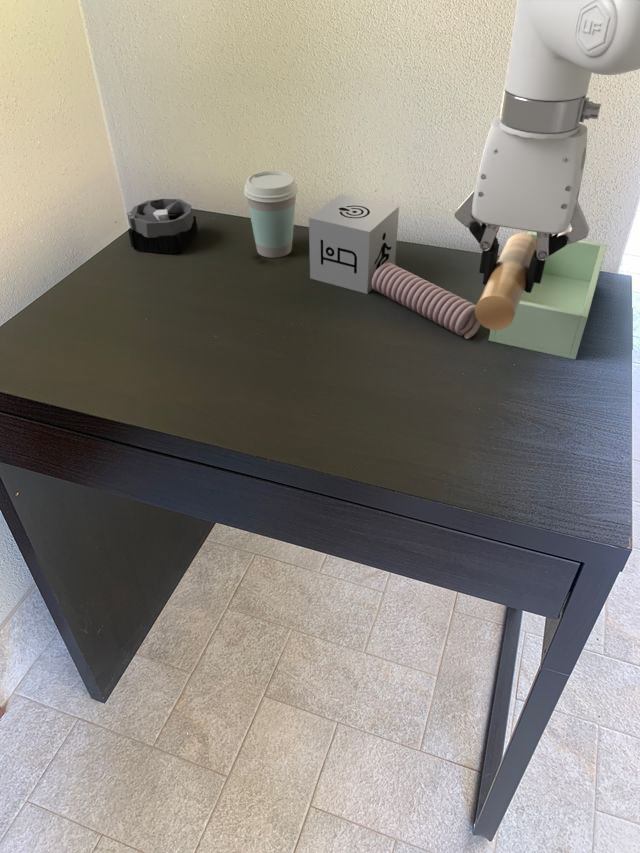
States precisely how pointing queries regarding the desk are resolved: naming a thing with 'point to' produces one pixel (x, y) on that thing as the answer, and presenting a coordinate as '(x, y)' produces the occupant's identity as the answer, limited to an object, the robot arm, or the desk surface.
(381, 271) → the coil
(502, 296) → the wooden cylinder
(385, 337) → the desk surface
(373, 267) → the icon cube
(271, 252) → the coffee cup
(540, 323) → the bin
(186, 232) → the cpu cooler
